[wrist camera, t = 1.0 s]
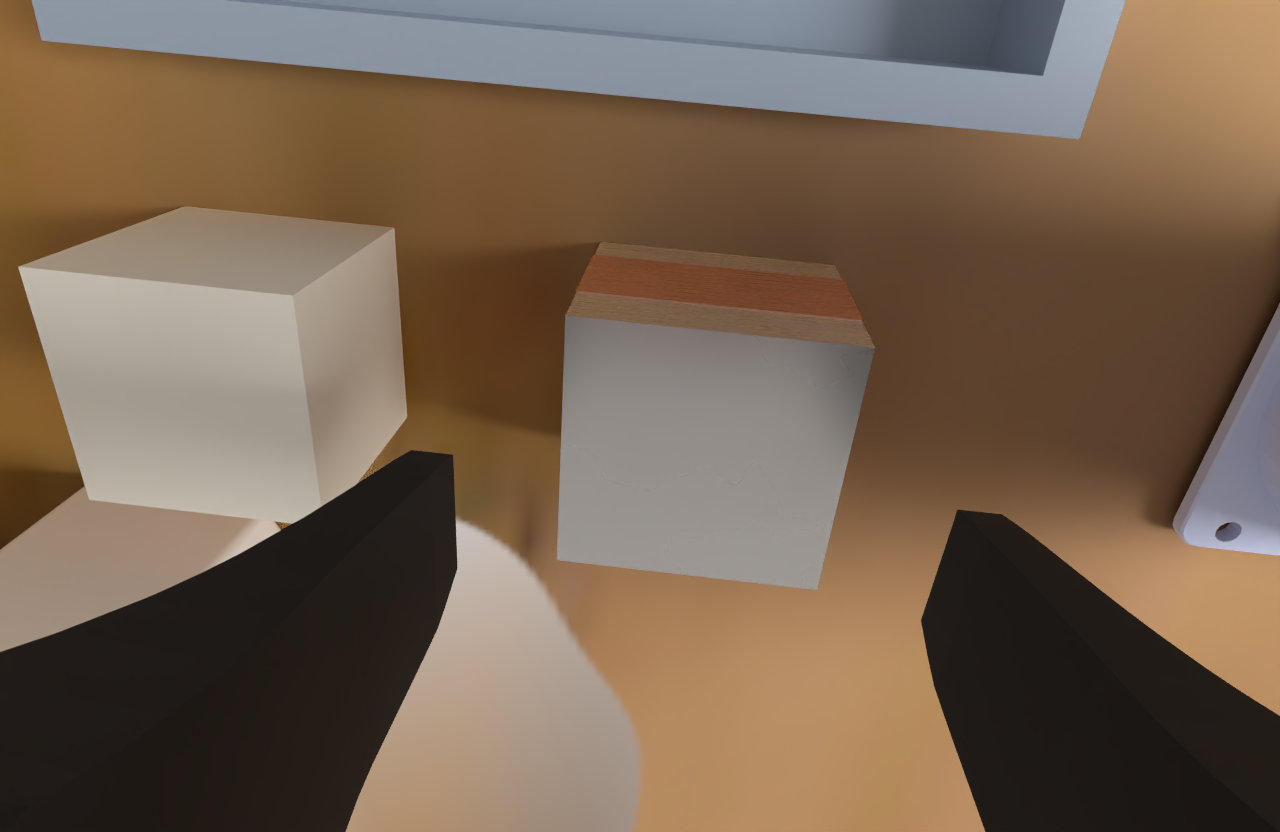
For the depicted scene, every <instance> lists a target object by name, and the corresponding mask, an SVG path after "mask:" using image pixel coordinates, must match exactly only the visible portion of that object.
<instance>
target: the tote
mask: <svg viewBox="0 0 1280 832" xmlns="http://www.w3.org/2000/svg"><path fill="white" fill-rule="evenodd" d="M1125 1H1126V0H32V4H33V8H34V12H35V16H36V20H37V24H38V28H39V32H40V36H41V40H42V41H50V42H60V43H71V44H82V45H92V46H103V47H113V48H124V49H134V50H145V51H155V52H166V53H176V54H187V55H197V56H208V57H218V58H229V59H240V60H250V61H261V62H271V63H282V64H292V65H303V66H313V67H324V68H334V69H345V70H355V71H366V72H377V73H387V74H398V75H408V76H419V77H429V78H440V79H450V80H461V81H471V82H482V83H492V84H503V85H513V86H524V87H535V88H545V89H556V90H566V91H577V92H587V93H598V94H608V95H619V96H629V97H640V98H650V99H661V100H672V101H682V102H693V103H703V104H714V105H724V106H735V107H745V108H756V109H766V110H777V111H787V112H798V113H809V114H819V115H830V116H840V117H851V118H861V119H872V120H882V121H893V122H903V123H914V124H924V125H935V126H945V127H956V128H967V129H977V130H988V131H998V132H1009V133H1019V134H1030V135H1040V136H1051V137H1061V138H1072V139H1080V137H1081V134H1082V131H1083V128H1084V125H1085V122H1086V119H1087V116H1088V113H1089V110H1090V107H1091V104H1092V101H1093V97H1094V94H1095V91H1096V88H1097V85H1098V82H1099V79H1100V76H1101V73H1102V70H1103V67H1104V64H1105V61H1106V58H1107V55H1108V52H1109V49H1110V46H1111V43H1112V40H1113V37H1114V34H1115V31H1116V28H1117V25H1118V22H1119V19H1120V16H1121V13H1122V10H1123V7H1124V4H1125Z"/></svg>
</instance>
